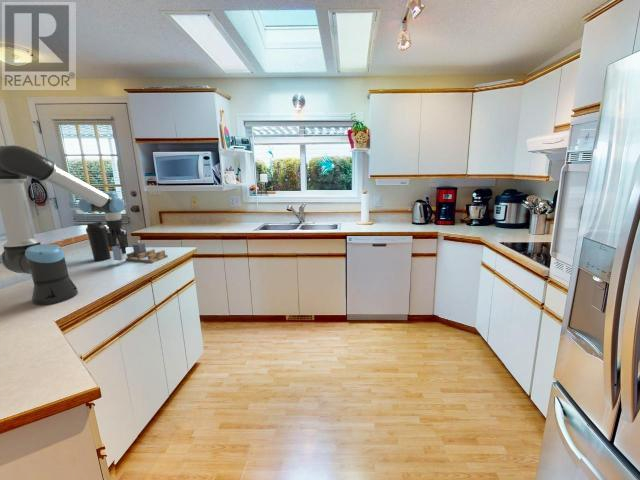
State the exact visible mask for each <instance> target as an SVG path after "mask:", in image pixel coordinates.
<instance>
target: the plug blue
mask: <svg viewBox="0 0 640 480" xmlns="http://www.w3.org/2000/svg"><path fill="white" fill-rule="evenodd" d="M120 248H121V247H120V244H119V242H117V243H116V246H113V247H112V248H111V249H112V256H113V260H114V261H119V262H120V261H124V260H126V259H127V254H126V259H123V260H121V254H120Z"/></svg>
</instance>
